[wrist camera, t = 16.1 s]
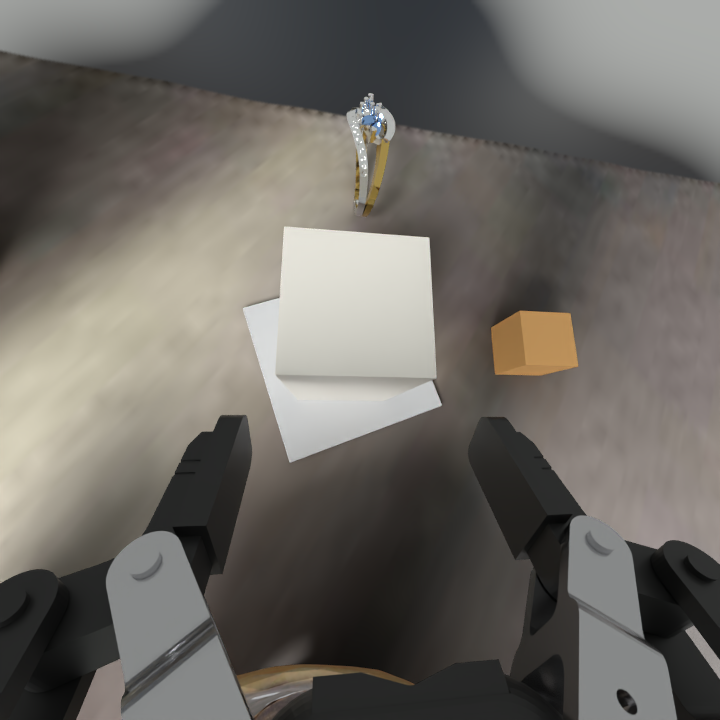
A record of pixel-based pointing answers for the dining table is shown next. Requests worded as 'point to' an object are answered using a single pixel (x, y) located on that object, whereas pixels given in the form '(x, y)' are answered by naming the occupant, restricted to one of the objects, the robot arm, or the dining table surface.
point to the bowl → (291, 685)
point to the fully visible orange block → (534, 343)
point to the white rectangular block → (354, 315)
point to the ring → (371, 123)
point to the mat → (324, 417)
